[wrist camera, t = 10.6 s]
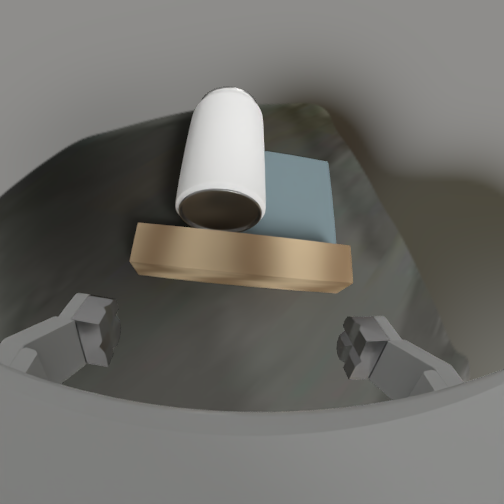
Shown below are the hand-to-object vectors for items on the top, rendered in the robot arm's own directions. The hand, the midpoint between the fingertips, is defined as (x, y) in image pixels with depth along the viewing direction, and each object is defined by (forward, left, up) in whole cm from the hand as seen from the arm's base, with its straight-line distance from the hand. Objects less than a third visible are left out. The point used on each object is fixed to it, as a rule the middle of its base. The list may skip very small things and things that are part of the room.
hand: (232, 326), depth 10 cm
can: (-1, +8, -8) cm, 12 cm away
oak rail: (+1, +6, -12) cm, 13 cm away
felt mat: (+3, +13, -12) cm, 18 cm away
